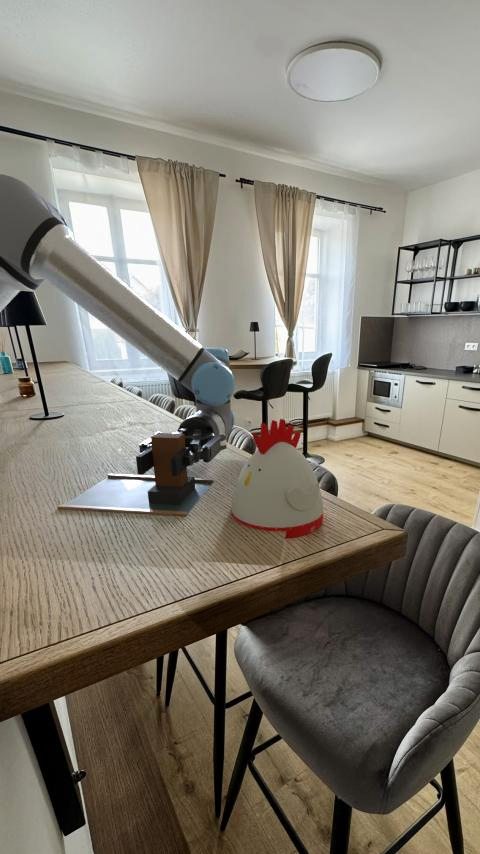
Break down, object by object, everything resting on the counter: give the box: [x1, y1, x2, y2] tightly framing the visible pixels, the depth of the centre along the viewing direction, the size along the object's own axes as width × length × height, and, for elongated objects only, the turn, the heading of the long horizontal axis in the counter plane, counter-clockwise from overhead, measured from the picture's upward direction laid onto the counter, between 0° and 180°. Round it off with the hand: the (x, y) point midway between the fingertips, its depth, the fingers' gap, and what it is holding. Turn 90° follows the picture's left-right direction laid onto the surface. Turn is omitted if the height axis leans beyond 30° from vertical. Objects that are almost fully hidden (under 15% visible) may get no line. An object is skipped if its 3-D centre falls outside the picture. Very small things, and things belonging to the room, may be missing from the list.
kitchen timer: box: [231, 418, 324, 539], centre depth 60 cm, size 14×14×15 cm
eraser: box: [148, 432, 195, 505], centre depth 66 cm, size 8×5×10 cm, turn 174°
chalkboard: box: [57, 473, 215, 517], centre depth 69 cm, size 20×16×2 cm
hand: (156, 466), depth 61 cm, fingers open, 5 cm apart
